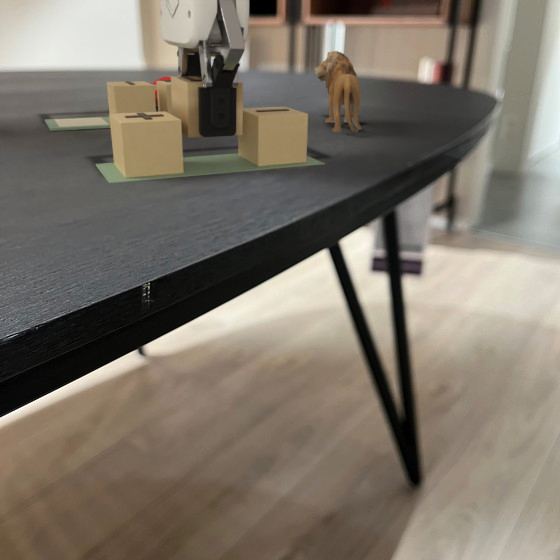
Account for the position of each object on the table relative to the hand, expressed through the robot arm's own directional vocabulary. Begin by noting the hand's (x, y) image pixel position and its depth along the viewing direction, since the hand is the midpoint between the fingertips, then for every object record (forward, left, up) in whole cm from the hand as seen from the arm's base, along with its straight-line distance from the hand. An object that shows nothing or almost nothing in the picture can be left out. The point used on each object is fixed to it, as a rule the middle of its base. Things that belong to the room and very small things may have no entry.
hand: (206, 127), depth 52 cm
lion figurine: (+23, +16, -4) cm, 28 cm away
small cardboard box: (0, 0, 0) cm, 0 cm away
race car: (+8, +43, -4) cm, 44 cm away
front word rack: (0, 0, -4) cm, 4 cm away
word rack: (-1, +27, -4) cm, 27 cm away
